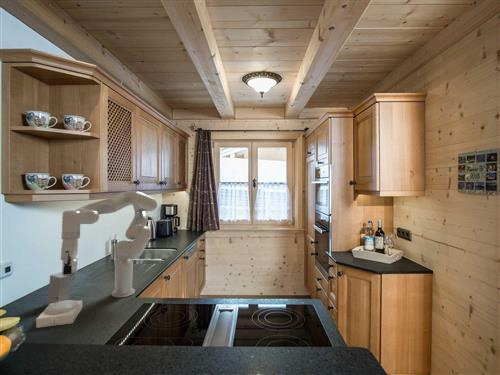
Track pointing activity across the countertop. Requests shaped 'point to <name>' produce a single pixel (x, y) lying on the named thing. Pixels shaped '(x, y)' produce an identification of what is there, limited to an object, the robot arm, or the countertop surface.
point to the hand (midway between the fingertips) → (69, 271)
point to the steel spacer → (74, 267)
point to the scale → (59, 313)
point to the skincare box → (59, 288)
